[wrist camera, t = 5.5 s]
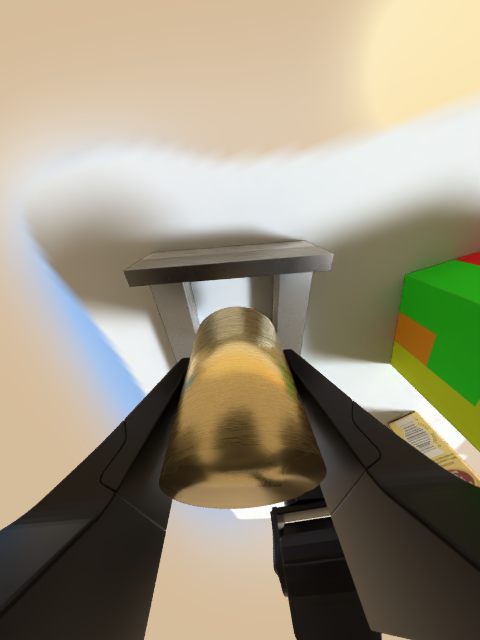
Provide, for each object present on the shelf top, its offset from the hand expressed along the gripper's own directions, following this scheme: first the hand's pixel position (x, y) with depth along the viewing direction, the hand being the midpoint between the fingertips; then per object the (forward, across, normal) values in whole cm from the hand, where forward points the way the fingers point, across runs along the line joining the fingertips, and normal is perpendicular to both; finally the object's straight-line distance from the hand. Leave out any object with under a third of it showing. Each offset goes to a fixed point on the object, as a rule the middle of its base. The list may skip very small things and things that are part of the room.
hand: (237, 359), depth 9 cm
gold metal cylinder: (+1, 0, 0) cm, 1 cm away
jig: (+6, 0, +3) cm, 7 cm away
